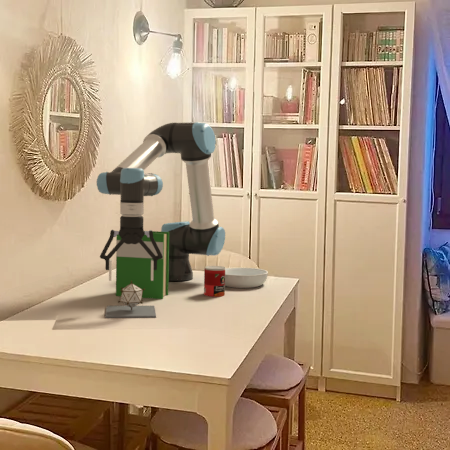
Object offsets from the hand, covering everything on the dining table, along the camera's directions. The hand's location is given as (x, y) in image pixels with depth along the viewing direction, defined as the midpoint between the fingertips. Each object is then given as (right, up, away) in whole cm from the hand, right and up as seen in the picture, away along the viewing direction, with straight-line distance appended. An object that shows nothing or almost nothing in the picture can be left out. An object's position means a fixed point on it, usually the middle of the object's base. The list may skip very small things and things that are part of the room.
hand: (131, 280), depth 233 cm
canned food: (+27, -9, +32) cm, 42 cm away
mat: (0, -11, +1) cm, 11 cm away
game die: (0, -10, +1) cm, 10 cm away
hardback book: (0, -9, +28) cm, 29 cm away
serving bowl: (+37, -7, +51) cm, 64 cm away
